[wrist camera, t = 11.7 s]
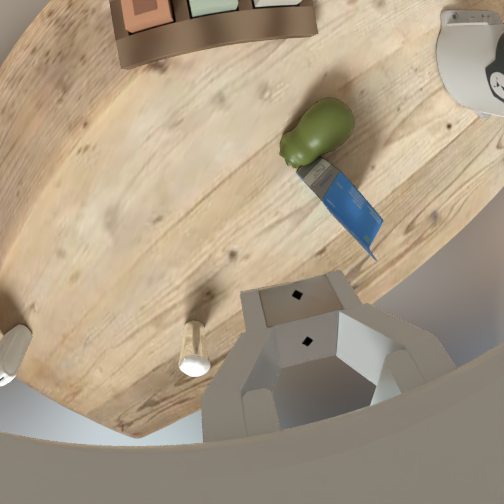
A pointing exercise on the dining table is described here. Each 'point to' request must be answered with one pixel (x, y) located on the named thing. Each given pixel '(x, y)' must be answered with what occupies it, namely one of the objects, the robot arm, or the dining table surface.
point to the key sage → (212, 7)
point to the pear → (317, 132)
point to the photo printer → (13, 352)
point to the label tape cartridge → (342, 200)
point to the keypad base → (210, 30)
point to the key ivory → (275, 2)
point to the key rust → (146, 14)
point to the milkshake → (194, 350)
